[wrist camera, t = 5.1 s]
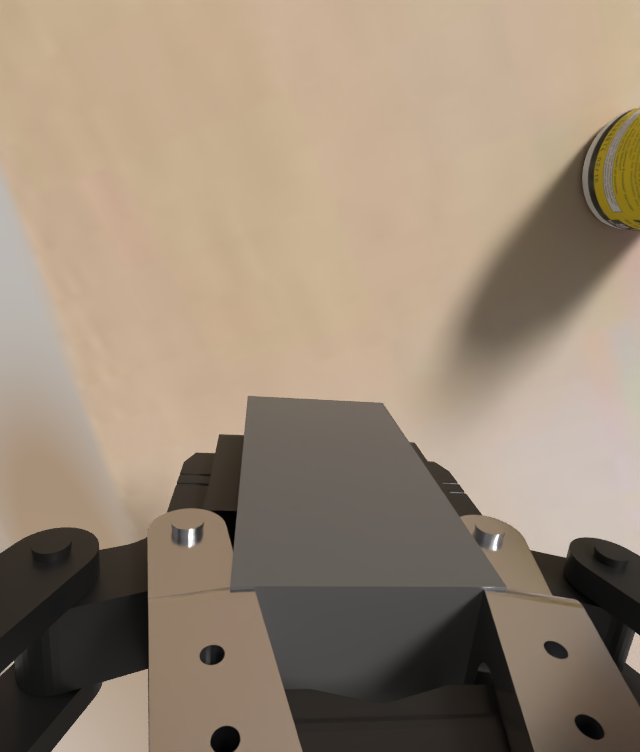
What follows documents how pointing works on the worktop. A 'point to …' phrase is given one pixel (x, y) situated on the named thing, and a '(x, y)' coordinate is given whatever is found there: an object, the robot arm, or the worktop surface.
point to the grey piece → (353, 552)
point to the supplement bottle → (615, 172)
